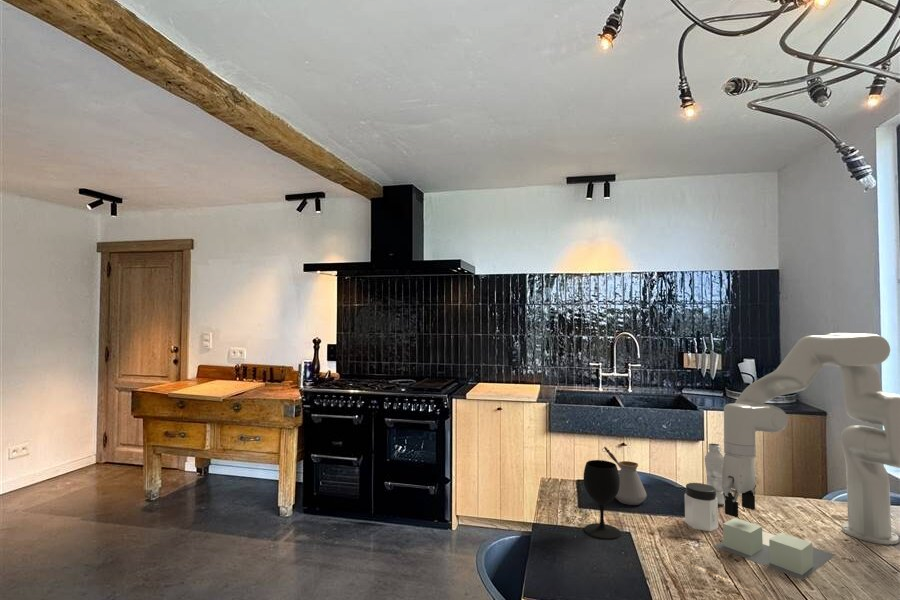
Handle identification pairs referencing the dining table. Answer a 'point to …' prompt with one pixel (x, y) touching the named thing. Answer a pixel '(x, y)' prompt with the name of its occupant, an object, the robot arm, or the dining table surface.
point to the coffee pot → (629, 483)
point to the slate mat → (764, 559)
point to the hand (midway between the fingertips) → (740, 511)
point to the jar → (701, 507)
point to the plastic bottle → (715, 470)
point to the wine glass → (601, 494)
